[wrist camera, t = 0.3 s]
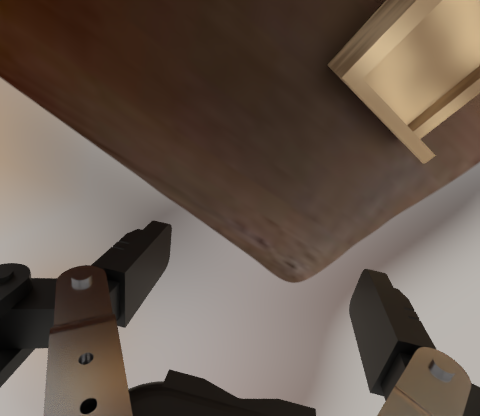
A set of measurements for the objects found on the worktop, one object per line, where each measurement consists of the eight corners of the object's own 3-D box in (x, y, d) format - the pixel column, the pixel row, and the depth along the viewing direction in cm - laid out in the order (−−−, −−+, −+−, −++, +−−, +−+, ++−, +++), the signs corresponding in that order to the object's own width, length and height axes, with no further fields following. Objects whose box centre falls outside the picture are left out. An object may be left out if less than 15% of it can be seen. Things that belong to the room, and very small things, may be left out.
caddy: (479, -103, 20) (632, -224, 11) (558, 9, 23) (742, -12, 13) (327, 65, 27) (341, 77, 18) (398, 139, 29) (444, 185, 20)
